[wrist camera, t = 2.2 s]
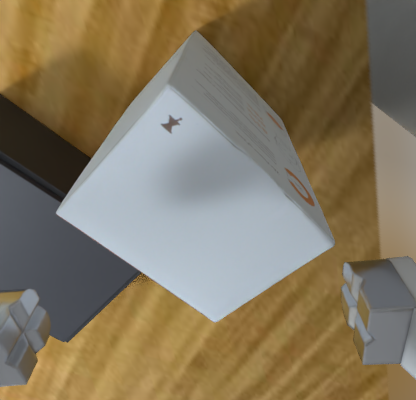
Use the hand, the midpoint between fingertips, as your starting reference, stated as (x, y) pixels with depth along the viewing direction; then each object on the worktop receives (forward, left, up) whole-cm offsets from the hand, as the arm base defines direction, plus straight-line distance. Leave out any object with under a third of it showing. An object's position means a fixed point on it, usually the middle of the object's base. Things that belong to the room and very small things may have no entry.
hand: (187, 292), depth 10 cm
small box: (0, 0, -16) cm, 16 cm away
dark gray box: (+4, +14, -16) cm, 22 cm away
